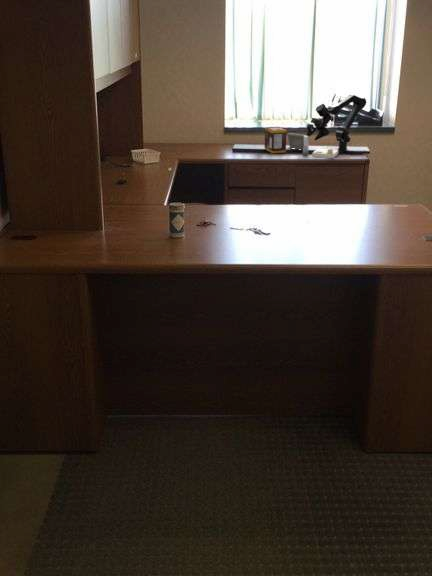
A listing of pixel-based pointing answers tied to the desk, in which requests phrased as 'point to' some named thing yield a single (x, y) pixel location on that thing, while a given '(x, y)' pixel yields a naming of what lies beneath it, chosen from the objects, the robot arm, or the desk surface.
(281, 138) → the supplement box
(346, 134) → the robot arm
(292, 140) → the digital clock
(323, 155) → the gauge board
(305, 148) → the steel pin
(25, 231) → the desk surface
